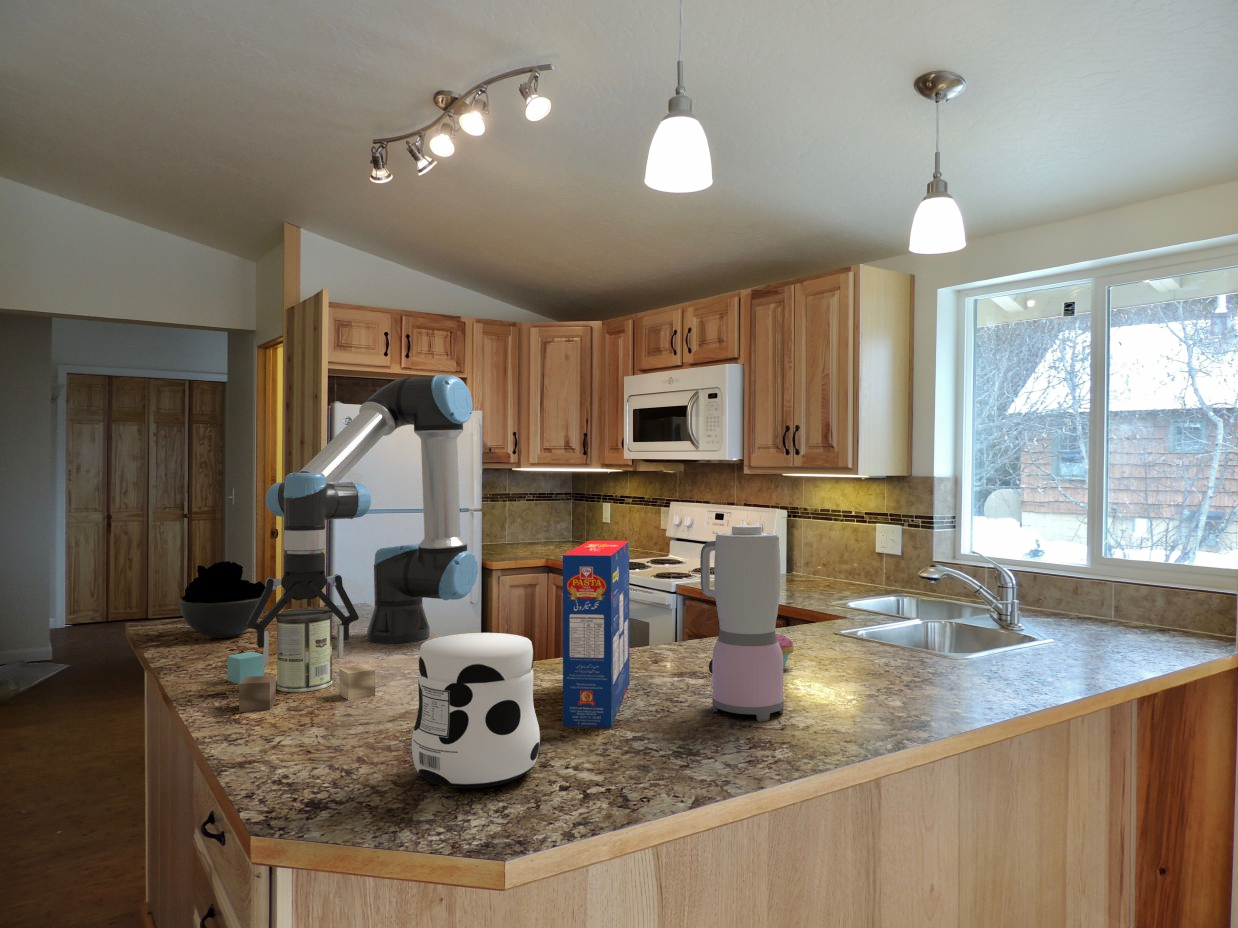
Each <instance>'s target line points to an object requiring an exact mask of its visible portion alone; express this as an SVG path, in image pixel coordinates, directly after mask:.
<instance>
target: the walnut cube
mask: <svg viewBox="0 0 1238 928" xmlns="http://www.w3.org/2000/svg"><path fill="white" fill-rule="evenodd" d="M276 690H277V674H276V675H264V676H252V677H245V678H244V679H243V680H242V681H241V682H240V683H239V684H238V713H249V712H266V711H265V710H270V709H271V710H272V709H273V707H274V706H273V705H275V704H276V701H277V700H276V699H277V698H276V697H277V696H276V694H277V692H276ZM271 710H270V711H271Z"/></svg>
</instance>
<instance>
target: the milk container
mask: <svg viewBox="0 0 1238 928" xmlns="http://www.w3.org/2000/svg"><path fill="white" fill-rule="evenodd" d="M534 660H535V659H534V649H533V644H532V641H531V640H530V639H529V638H528V637H526V636H522V635H520V634H519V635H518V634H511V633H500V632H499V633H498V632H471V633H470V632H469V633H459V634H451V635H445V636H439V637H436V638H435V637H434V638H432V639H428V640H426V641H424V642H423V643H422V644H420V649H419V656H418V672H419V673H418V677H417V680H418V681H417V682H418V709H417V711H418V712H417V715H416V716H417V717H416V720H415V724H414V727H413V730H412V731H413V732H412V737H411V754H412V759H413V766H414V767H415V770H416V772H417V774H418V775H419V776H421V777H422V778H423V779H425V780H426V781H427V782H430V783H431V784H434V785H438V786H442V787H445V788H457V789H477V788H488V787H489V788H490V787H494V786H499V785H504V784H507V783H509V782H512V781H515V780H518V779H520V778H521V777H523V776H524V775H526V773H528V772H529V771H530V770H532V769H533V768H534V766H535V764H536V761H537V760H538V756H539V752H540V750H539V749H540V743H541V734H540V726H539V722H538V718H537V715H536V709H535V707H534V706H535V705H534V663H535V662H534Z"/></svg>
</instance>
